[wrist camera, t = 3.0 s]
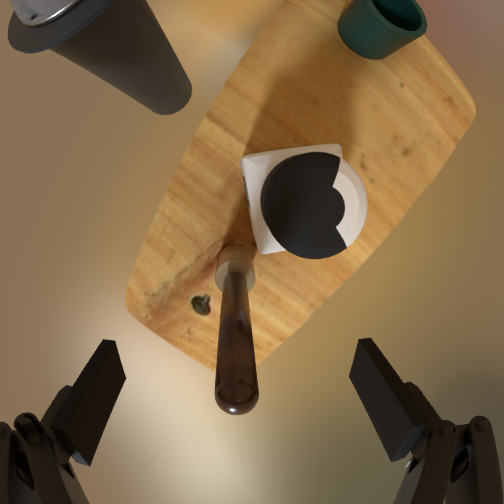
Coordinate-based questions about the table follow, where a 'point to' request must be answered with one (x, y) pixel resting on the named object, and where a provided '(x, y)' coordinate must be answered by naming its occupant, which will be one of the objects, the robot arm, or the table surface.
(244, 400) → the brush
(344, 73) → the table surface
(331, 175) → the container
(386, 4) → the cup
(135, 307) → the table surface
